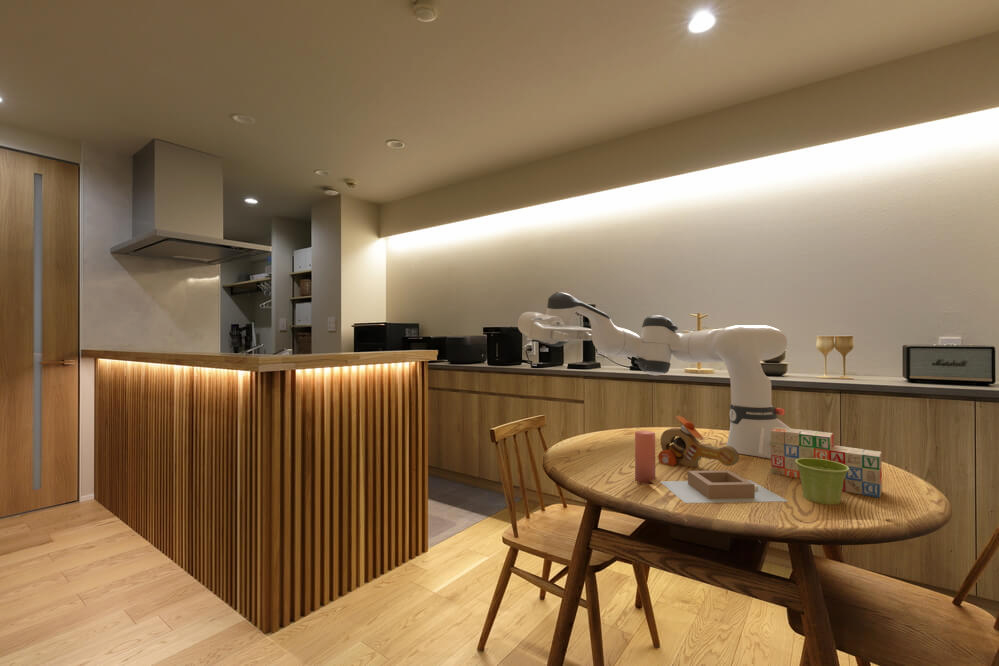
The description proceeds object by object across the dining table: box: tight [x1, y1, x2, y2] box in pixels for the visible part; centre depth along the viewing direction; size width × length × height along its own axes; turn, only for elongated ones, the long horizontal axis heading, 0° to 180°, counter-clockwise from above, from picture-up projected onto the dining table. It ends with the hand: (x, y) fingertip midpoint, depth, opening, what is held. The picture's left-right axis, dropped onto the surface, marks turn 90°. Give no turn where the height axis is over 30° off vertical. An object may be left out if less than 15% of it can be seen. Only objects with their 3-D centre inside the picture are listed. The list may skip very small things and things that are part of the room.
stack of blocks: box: [770, 427, 883, 499], centre depth 110 cm, size 21×6×12 cm, turn 46°
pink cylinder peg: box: [634, 430, 657, 485], centre depth 113 cm, size 5×5×12 cm
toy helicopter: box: [657, 415, 740, 468], centre depth 120 cm, size 8×21×14 cm, turn 39°
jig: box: [659, 469, 788, 504], centre depth 102 cm, size 22×14×4 cm, turn 92°
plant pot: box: [795, 458, 849, 505], centre depth 97 cm, size 9×9×9 cm
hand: (578, 337), depth 134 cm, fingers open, 8 cm apart
